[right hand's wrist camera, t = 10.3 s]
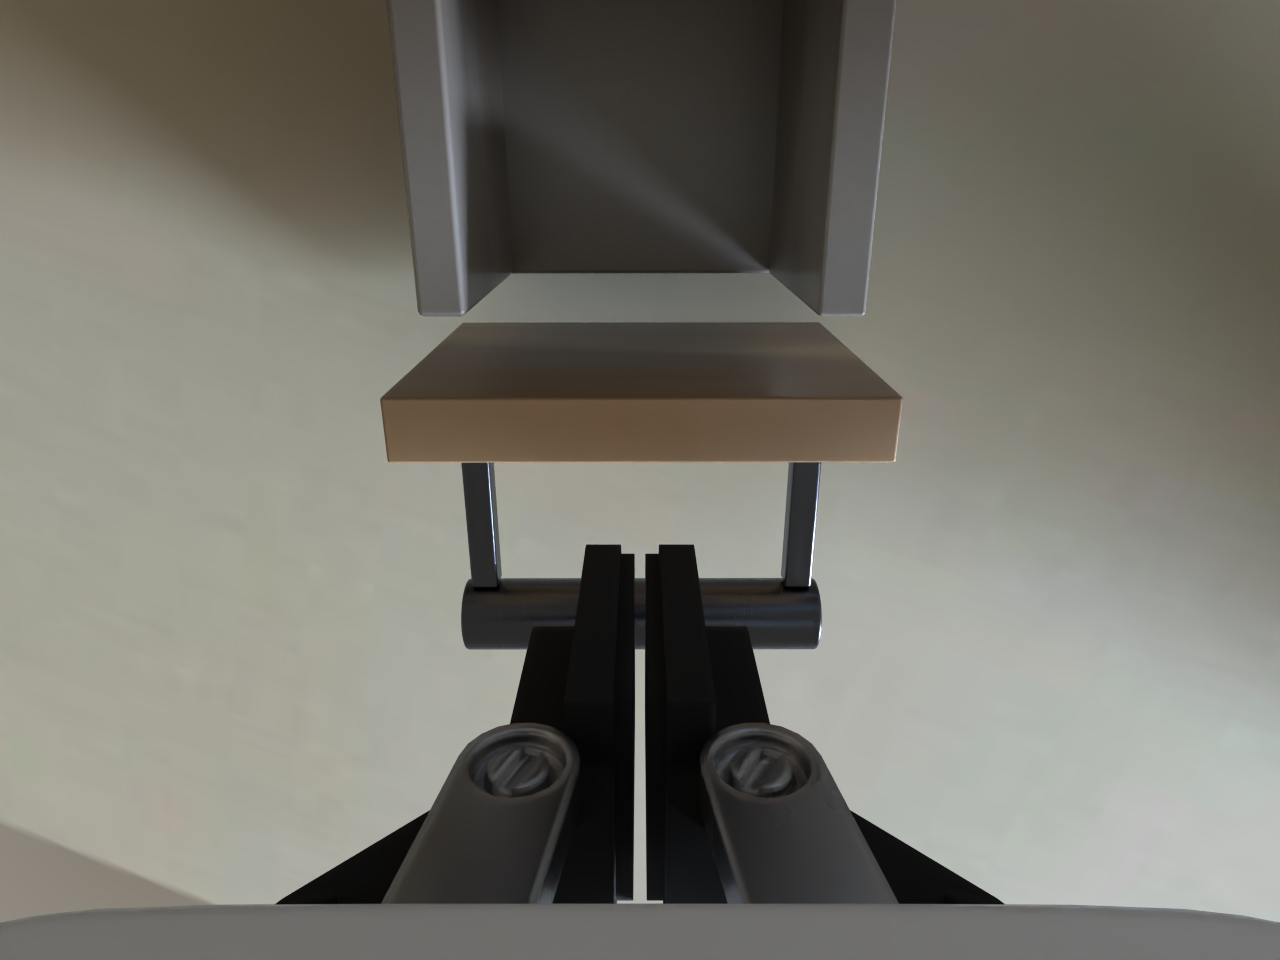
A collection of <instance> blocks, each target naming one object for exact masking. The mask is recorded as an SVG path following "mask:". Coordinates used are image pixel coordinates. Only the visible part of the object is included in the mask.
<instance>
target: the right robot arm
mask: <svg viewBox="0 0 1280 960" xmlns="http://www.w3.org/2000/svg"><path fill="white" fill-rule="evenodd" d="M634 756H635V564H634V554H621V545H586V549H585V556H584V563H583V570H582V577H581V584H580V591H579V598H578V606H577V613H576V620H575V626H534V627H533V629H532V632H531V636H530V640H529V644H528V649H527V653H526V657H525V662H524V666H523V670H522V674H521V679H520V683H519V687H518V692H517V696H516V700H515V705H514V709H513V713H512V718H511V722H510V724H509V725H504V726H499V727H496V728H494V729H492V730H489V731H487V732H485V733H482V734H481V735H479V736H478V737H477V738H475V739H474V740H473V741H471V742H470V743H469V744H468V745H467V746H466V747H465V748H464V750H463V751H462V752H461V754H460V755H459V756H458V758H457V760H456V762H455V764H454V766H453V768H452V770H451V772H450V773H449V775H448V777H447V779H446V781H445V783H444V785H443V787H442V789H441V791H440V793H439V794H438V796H437V798H436V800H435V802H434V804H433V806H432V808H431V810H429V811H428V812H426V813H424V814H423V815H421V816H419V817H418V818H416V819H414V820H413V821H411V822H409V823H408V824H406V825H404V826H403V827H401V828H400V829H398V830H396V831H395V832H393V833H391V834H390V835H388V836H386V837H385V838H383V839H381V840H380V841H378V842H376V843H375V844H373V845H371V846H370V847H368V848H366V849H365V850H363V851H361V852H360V853H358V854H356V855H355V856H353V857H351V858H350V859H348V860H346V861H345V862H343V863H341V864H340V865H338V866H336V867H335V868H333V869H331V870H330V871H328V872H326V873H325V874H323V875H321V876H320V877H318V878H316V879H315V880H313V881H311V882H310V883H308V884H306V885H305V886H303V887H301V888H300V889H298V890H296V891H295V892H293V893H291V894H290V895H288V896H286V897H285V898H283V899H282V900H280V901H279V902H278V903H276V904H272V905H191V906H164V907H138V908H112V909H92V910H83V911H74V912H65V913H56V914H47V915H38V916H32V917H27V918H22V919H17V920H12V921H7V922H2V923H0V960H1280V923H1278V922H1273V921H1268V920H1263V919H1258V918H1253V917H1248V916H1242V915H1233V914H1224V913H1215V912H1206V911H1197V910H1188V909H1169V908H1142V907H1116V906H1089V905H1008V904H1004V903H1002V902H1001V901H1000V900H998V899H997V898H995V897H994V896H992V895H990V894H989V893H987V892H985V891H984V890H982V889H980V888H979V887H977V886H975V885H974V884H972V883H970V882H969V881H967V880H965V879H964V878H962V877H960V876H959V875H957V874H955V873H954V872H952V871H950V870H949V869H947V868H945V867H944V866H942V865H940V864H939V863H937V862H935V861H934V860H932V859H930V858H929V857H927V856H925V855H924V854H922V853H920V852H919V851H917V850H915V849H914V848H912V847H910V846H909V845H907V844H905V843H904V842H902V841H900V840H899V839H897V838H895V837H894V836H892V835H890V834H889V833H887V832H885V831H884V830H882V829H880V828H879V827H877V826H876V825H874V824H872V823H871V822H869V821H867V820H866V819H864V818H862V817H861V816H859V815H857V814H856V813H854V812H852V811H851V810H849V808H848V806H847V804H846V802H845V800H844V798H843V796H842V794H841V793H840V791H839V789H838V787H837V785H836V783H835V781H834V779H833V777H832V775H831V773H830V772H829V770H828V768H827V766H826V764H825V762H824V760H823V758H822V756H821V755H820V754H819V752H818V751H817V750H816V748H815V747H814V746H813V745H812V744H811V743H810V742H809V741H807V740H806V739H805V738H803V737H802V736H801V735H799V734H798V733H795V732H793V731H791V730H788V729H786V728H784V727H781V726H776V725H771V724H770V722H769V718H768V713H767V709H766V705H765V700H764V696H763V692H762V687H761V683H760V679H759V674H758V670H757V666H756V662H755V657H754V653H753V649H752V644H751V640H750V636H749V632H748V629H747V627H746V626H705V620H704V613H703V606H702V598H701V591H700V584H699V577H698V570H697V563H696V556H695V549H694V545H659V554H646V564H645V756H646V864H647V900H663V904H617V900H633V864H634Z"/></svg>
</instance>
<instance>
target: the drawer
mask: <svg viewBox="0 0 1280 960" xmlns="http://www.w3.org/2000/svg"><path fill="white" fill-rule="evenodd" d="M896 2H897V0H387V8H388V18H389V28H390V38H391V48H392V58H393V68H394V78H395V87H396V97H397V107H398V117H399V127H400V137H401V147H402V157H403V167H404V177H405V187H406V197H407V206H408V216H409V226H410V236H411V246H412V256H413V266H414V276H415V286H416V296H417V306H418V311H419V313H420V315H423V316H462V315H464V314H465V313H467V312H468V311H469V310H470V309H471V308H472V307H473V306H475V305H476V304H477V303H478V302H479V301H480V300H481V299H483V298H484V297H485V296H486V295H487V294H488V293H489V292H491V291H492V290H493V289H494V288H495V287H496V286H497V285H499V284H500V283H501V282H502V281H503V280H504V279H505V278H507V277H508V276H509V275H510V274H511V273H770V274H772V275H773V276H774V277H775V278H776V279H777V280H779V281H780V282H781V283H782V284H783V285H784V286H786V287H787V288H788V289H789V290H790V291H791V292H793V293H794V294H795V295H796V296H797V297H798V298H800V299H801V300H802V301H803V302H804V303H805V304H806V305H808V306H809V307H810V308H811V309H812V310H813V311H815V312H816V313H817V314H818V315H820V316H862V315H864V314H865V310H866V300H867V290H868V280H869V270H870V261H871V251H872V241H873V231H874V221H875V211H876V201H877V191H878V181H879V171H880V161H881V151H882V141H883V131H884V121H885V111H886V101H887V91H888V81H889V71H890V61H891V51H892V42H893V32H894V22H895V12H896ZM380 401H381V410H382V418H383V426H384V434H385V442H386V450H387V458H388V462H390V463H462V474H463V486H464V497H465V509H466V520H467V532H468V543H469V555H470V566H471V577H472V579H469V580H468V581H467V583H466V586H465V589H464V594H463V600H462V611H461V627H462V637H463V641H464V644H465V647H466V648H467V649H528V644H529V640H530V636H531V632H532V629H533V627H534V626H575V620H576V613H577V606H578V598H579V591H580V584H581V578H501V576H502V572H501V559H500V545H499V531H498V517H497V503H496V489H495V475H494V463H596V462H789V470H788V484H787V499H786V513H785V527H784V541H783V555H782V569H781V576H782V578H699V584H700V591H701V598H702V606H703V613H704V620H705V626H746V627H747V629H748V632H749V636H750V640H751V644H752V649H815V648H817V646H818V644H819V641H820V636H821V625H822V613H821V600H820V594H819V590H818V586H817V584H816V581H815V580H814V579H812V578H811V575H812V563H813V552H814V540H815V528H816V517H817V505H818V494H819V482H820V471H821V462H895V460H896V452H897V443H898V435H899V427H900V419H901V411H902V402H903V398H902V397H901V396H900V395H899V394H898V393H897V392H896V391H895V390H894V389H892V388H891V387H890V386H889V385H888V384H887V383H886V382H885V381H884V380H882V379H881V378H880V377H879V376H878V375H877V374H876V373H875V372H874V371H872V370H871V369H870V368H869V367H868V366H867V365H866V364H865V363H864V362H862V361H861V360H860V359H859V358H858V357H857V356H856V355H855V354H854V353H852V352H851V351H850V350H849V349H848V348H847V347H846V346H845V345H844V344H843V343H841V342H840V341H839V340H838V339H837V338H836V337H835V336H834V335H833V334H831V333H830V332H829V331H828V330H827V329H826V328H825V327H824V326H823V325H821V324H820V323H818V322H795V323H462V324H461V325H460V326H459V327H458V328H457V329H456V330H455V331H454V332H452V333H451V334H450V335H449V336H448V337H447V338H446V339H445V340H444V341H443V342H441V343H440V344H439V345H438V346H437V347H436V348H435V349H434V350H433V351H432V352H431V353H429V354H428V355H427V356H426V357H425V358H424V359H423V360H422V361H421V362H420V363H418V364H417V365H416V366H415V367H414V368H413V369H412V370H411V371H410V372H409V373H408V374H406V375H405V376H404V377H403V378H402V379H401V380H400V381H399V382H398V383H397V384H395V385H394V386H393V387H392V388H391V389H390V390H389V391H388V392H387V393H386V394H385V395H383V396H382V397H381V399H380ZM635 649H645V578H635Z"/></svg>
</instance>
